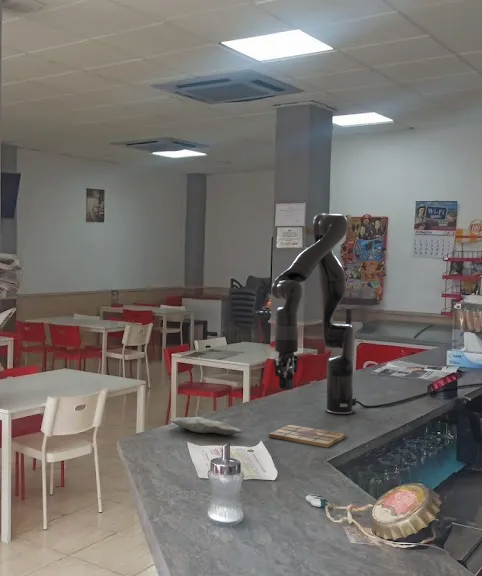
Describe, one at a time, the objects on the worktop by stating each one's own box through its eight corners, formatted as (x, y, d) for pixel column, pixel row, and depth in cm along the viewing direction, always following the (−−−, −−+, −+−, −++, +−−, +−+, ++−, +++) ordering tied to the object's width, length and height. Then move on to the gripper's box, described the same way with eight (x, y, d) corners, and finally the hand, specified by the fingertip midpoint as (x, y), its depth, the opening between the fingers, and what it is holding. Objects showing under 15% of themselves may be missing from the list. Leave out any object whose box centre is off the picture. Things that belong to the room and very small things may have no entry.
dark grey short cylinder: (282, 386, 249) (283, 377, 249) (295, 388, 246) (295, 378, 246) (276, 388, 246) (276, 379, 245) (289, 390, 243) (289, 380, 242)
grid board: (289, 427, 247) (289, 424, 247) (345, 437, 234) (345, 433, 234) (268, 437, 235) (268, 433, 235) (327, 447, 223) (327, 443, 223)
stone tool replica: (163, 427, 242) (230, 438, 228) (165, 412, 243) (232, 422, 228) (184, 429, 254) (249, 439, 240) (186, 414, 255) (251, 424, 241)
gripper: (286, 340, 237) (286, 391, 238) (305, 336, 248) (305, 385, 249) (266, 339, 242) (266, 389, 243) (285, 334, 253) (285, 382, 254)
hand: (286, 386), depth 246 cm, fingers closed on dark grey short cylinder, 4 cm apart
